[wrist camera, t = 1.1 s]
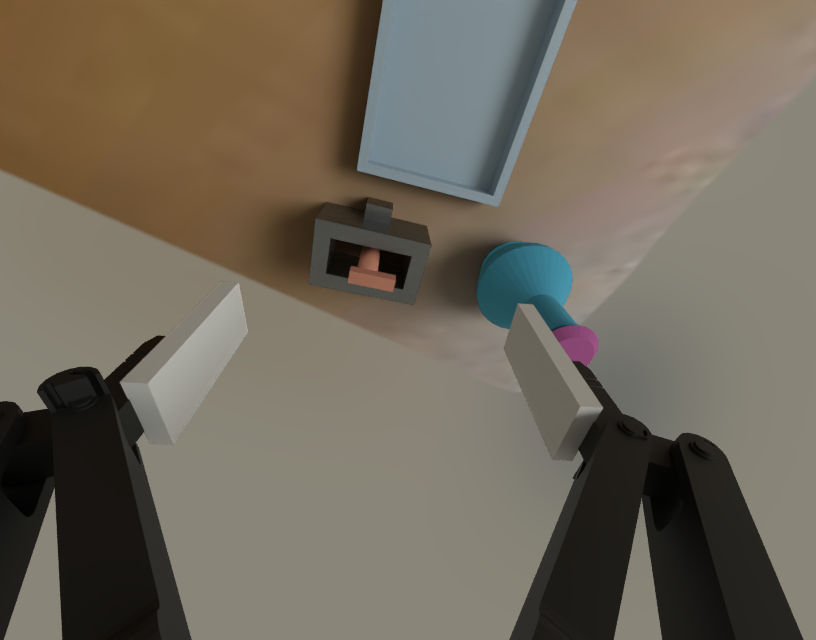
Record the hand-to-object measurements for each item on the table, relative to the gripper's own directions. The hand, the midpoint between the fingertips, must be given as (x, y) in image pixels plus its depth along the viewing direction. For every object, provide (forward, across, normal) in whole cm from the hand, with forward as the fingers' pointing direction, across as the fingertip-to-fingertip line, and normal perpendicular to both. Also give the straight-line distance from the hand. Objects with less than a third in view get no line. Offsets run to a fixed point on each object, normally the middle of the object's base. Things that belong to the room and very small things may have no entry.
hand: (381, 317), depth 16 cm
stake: (+20, -2, -4) cm, 20 cm away
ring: (+20, -2, -4) cm, 20 cm away
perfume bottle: (+20, +14, -5) cm, 25 cm away
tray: (+20, +5, +13) cm, 24 cm away
